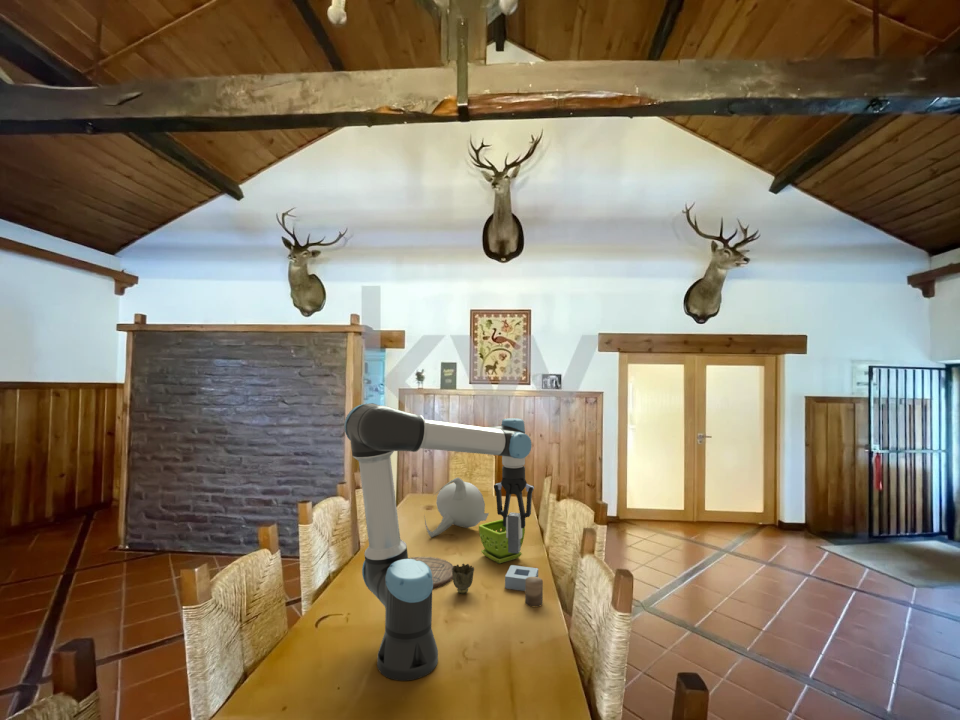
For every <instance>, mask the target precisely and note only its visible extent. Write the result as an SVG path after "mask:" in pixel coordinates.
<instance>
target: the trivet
mask: <svg viewBox="0 0 960 720" xmlns="http://www.w3.org/2000/svg"><path fill="white" fill-rule="evenodd" d="M408 559H415V560H416V561H422V562H424V563H425V564H426V565H428V566H429V568H430V569H431V572H432V580H433V589H435V588H439V587H442V586H444V585H446V584H448V583H450V582H451V581H453V575H452V568H453V566H454V565H453V564H452V563H451V562H450V561H447V560H446V559H442V558H439V557H432V556H413V557H408Z"/></svg>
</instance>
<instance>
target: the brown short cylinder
mask: <svg viewBox="0 0 960 720" xmlns="http://www.w3.org/2000/svg"><path fill="white" fill-rule="evenodd" d="M543 582H544V581H543V579H542V578H541V577H539V576H538V577H528V578H526V582H525V591H524V592H525V593H524V594H525V597H524V599H525V600H524V602H525V604H526V605H527V606H529V607H532V606H538V607H540V605H541V606H542V605H543V604H544V603H543V602H544V601H543V594H544V593H543V590H544V589H543V587H544V586H543Z"/></svg>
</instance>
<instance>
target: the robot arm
mask: <svg viewBox="0 0 960 720" xmlns="http://www.w3.org/2000/svg"><path fill="white" fill-rule="evenodd" d="M501 420H502V421H501V425H497V426H485V427H484V426H478V425H470V424H461V423H455V422H447V421H440V420H434V419H433V420H431V419H425V418H424V417H423V415H422V414H415V413H410V412H406V411H403V410H400V409H397V408H394V407H391V406H388V405H381V404H377V403H373V402H370V403H367V402H366V403H362V404H359V405H356V406H355V407H353V408H352V409H350V411H349V413H347V415H346V417H345V420H344V423H343V424H344V433H345V435H346V437H347V439H348V440H349V441H350V448H351V454H352V458H354V459H355V460H357V461H358V464H359V467H358V468H359V473H360V481H361V482H360V483H361V489H362V497H363V498H362V499H363V506H364V514H365V523H366V530H367V531H366V532H367V539H368V546H367V548H366V549H365V551H364V561H363V564H362V568H361V574H362V579H363V582H364V584H365V586H366V587H367V589H368V590H369V591H370V592H371V594H373V595H374V596H375V597H376V598H377V599H378V600H379V602H380V603H381V604H382V605H383V606H384V608H385V615H384V616H385V621H384V626H385V627H384V634H383V637H382V640H381V643H380V645H379V649H378V652H377V657H376V658H377V661H376V664H377V665H376V666H377V667H376V668H377V669H378V671H379V672H380V674H381V675H383V676H384V677H385V678H388V679H391V680H394V681H403V682H404V681H412V680H417V679H419V678H423V677H425V676H427V675H429V674H430V673H432V671H434V670H435V668H436V667H437V665H438V661H439V660H438V659H439V649H438V646H437V641H436V639H435V636H434V633H433V628H432V624H433V623H432V621H433V618H432V615H433V589H434V588H433V580H432V572H431V569H430V568H429V566H428V565H426V564H425V563H424V562H422V561H416V560H415V559H408V558H409V553H408V546H407V543H406V542H405V541H404V540H403V539H401V534H400V527H399V517H398V509H397V501H396V494H395V493H396V491H395V485H394V484H395V483H394V475H393V467H392V459H391V457H392V455H393V453H394V452H413V453H415V452H419V450H420V449H423V450H424V449H425V450H437V451H447V452H456V453H458V452H459V453H467V454H468V453H469V454H480V455H491V456H498V457H499V456H500V457H501V460H502V461H501V463H502V464H501V465H502V473H501V475H502V478H501V481H500V482H498V483H495V484H494V485H493V489H494V491H495V496H496V497H495V499H496V509H497V510H496V511H497V512H496V513H497V515H498V516H502V519H503V526H504V527H506V531H505V532H506V538H508V515H509V509H510V503H511V502H510V501H511V498H512V495H515V496H516V500H517V504H518V510H519V513H520V517H519V519H518V532H519V539H521V538H522V528H524V527H525V528H526V518H530V516H531V515H532V502H533V501H532V500H533V491H534V489H535V486H534V485H531V484H528V483H527V480H526V467H525V465H526V458H527V457H528V456H529V455H530V452H531V451H532V440H531V438H530V436H529V435H528V434H527V433H526V428H525V422H524V420H523V418H522V419H521V418H517V417H515V418H514V417H513V418H512V417H511V418H510V417H509V418H503V419H501ZM502 489H504V491H505V500H504V505H503V499H502V498H503V497H502ZM524 489H526V490H525V491H526V507H525V503H524V498H523V491H524ZM525 509H526V510H525Z"/></svg>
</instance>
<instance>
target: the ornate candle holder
mask: <svg viewBox="0 0 960 720" xmlns="http://www.w3.org/2000/svg"><path fill="white" fill-rule="evenodd" d="M474 571H475V568H474V566H472V565H470V564H469V563H467V564H465V563H462V564H461V566H459V564H456V565H453V568H452V575H453V579H452V582H453V585H454V587H455V588H456V591H457V593H458V594H461V595H464V594H467V593H468V591H469V588H470V587H471V586H472V583H473V581H474Z"/></svg>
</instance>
